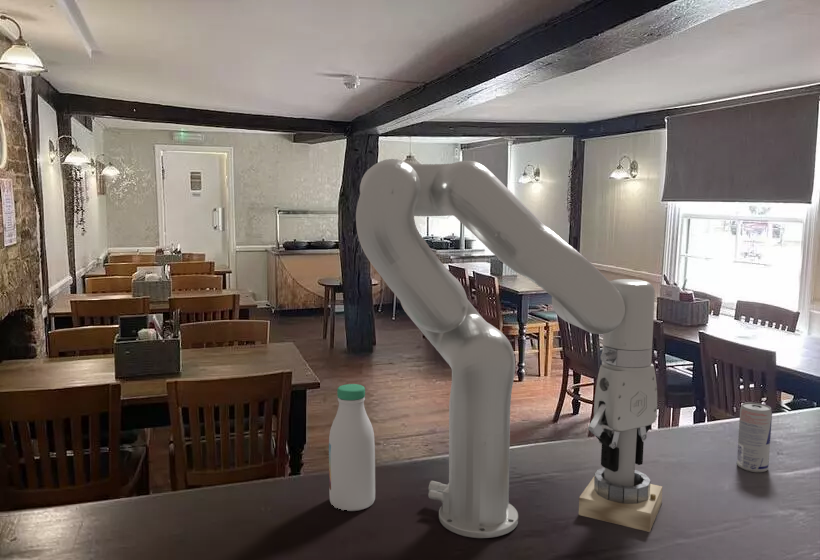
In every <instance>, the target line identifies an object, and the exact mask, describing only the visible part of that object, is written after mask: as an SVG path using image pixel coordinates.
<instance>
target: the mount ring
mask: <svg viewBox="0 0 820 560" xmlns="http://www.w3.org/2000/svg"><path fill="white" fill-rule="evenodd" d="M604 469H605V467H601V468H598V469H597V470H596V472H595V473H594V476H595V477H594V476H593V477H594V490H595V491H596V493H597V494H598V495H599V496H601V497H603V498H605V499H607V500H609V501H613V502H618V503H622V504H623V503H624V504H637V503H641V502H644V501H647V500H648V498H649V496H650V484H651V482H652V481H651V479H650V477H649V476H648V475H647V474H646V473H644V472H642V471H640V470H637V469H635V475H634V486H622V485H617V484H612V483H610V482H608V481H606V480H604Z"/></svg>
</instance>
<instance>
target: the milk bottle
mask: <svg viewBox="0 0 820 560" xmlns="http://www.w3.org/2000/svg"><path fill="white" fill-rule="evenodd" d="M336 391H337V392H336V393H337V395H336V396H337V401H338V408H337V411H336V415H335V417H334V418H333V420H332V424H331V427H330V431H329V434H328V435H329V437H328V478H329V480H328V483H329V484H328V485H329V490H328V491H329V493H328V494H329V502H330V504H331V506H332V505H333V506H334V507H333V506H332V507H333V508H335V509H337V508H338V509H337V510H339V509H341V510H340V511H344V510H347V511H346V512H356V511H362V510H364V509H368V508H369V507H371V506H372V505H373V504H374V502H375V500H376V448H375V447H376V446H375V433H374V427H373V425H372V422H371V420H370V418H369V416H368V414H367V411H366V409H365V400H366V398H365V397H366V388H365V386H363V385H362V384H356V383H348V384H343V385H342V384H341V385H339V386H338V387H337V389H336Z"/></svg>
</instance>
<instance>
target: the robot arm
mask: <svg viewBox="0 0 820 560" xmlns="http://www.w3.org/2000/svg"><path fill="white" fill-rule="evenodd" d="M357 200H358V201H357V204H356V210H355V211H356V212H355V224H356V233H357V238H358V241H359V244H360V246H361V248H362V249H361V250H363V253H364V254H365V256H366V258H367V259H368V262H370V264H371V265H372V267H373V268H374V269H375V271H376V272H377V274H378V275H379V276H380V277H381V279H382V280H383V281H384V282H385V284H386V285H387V287H388V288H389V289H390V290H391V292H393V294H394V295H395V296H396V298H397V299H398V301H400V305H401V307H402V309H403V310H404V312H405V314H406V315H407V316H408V317H409V319H410V320H411V321H412V322H413V323H414V325H415V326H416V327H417V328H418V330H419V331H420V332H421V333H422V334H423V336H425V338H426V339H427V340H428V341H429V342H430V344H431V345H432V346H433V347H434V348H435V350H436V351H437V352H438V353H439V354H440V356H441V357H442V358H443V360H444V361H445V362H446V363H447V364H448V365H449V367H450V368H451V386H450V392H449V393H450V394H449V403H448V405H449V407H448V408H449V409H448V429H449V430H448V483H447V484H445V483H442V482H440V481H435V480H430V481H429V485H428V498H429V499H430V500H435V501H436V500H437V501H440V502H441V503H442V505H441V506H440V507H439V510H438V519H439V522H440V524H441V525H442V526H443V527H444V528H445V529H447V530H448V531H450V532H452V533H454V534H457V535H459V536H463V537H468V538H474V539H491V538H498V537H502V536H504V535H506V534H509V533H511V532H512V531H514V529H515V528H517V526H518V524H519V512H518V510H517V509H516V508H515V506H513V505H512V504H511V503H510V502H509V501H510V500H509V498H510V496H509V495H510V492H509V491H510V453H511V452H510V450H511V449H510V448H511V447H510V444H511V442H510V441H511V435H510V434H511V405H512V404H511V403H512V400H511V399H512V392H513V385H514V379H515V373H516V356H515V351H514V348H513V346H512V344H511V342H510V340H509V338H508V337H507V336H506V335H505V334H504V333H503V332H502V331H501V330H500V329H498V328H496V326H494V325H492V324H491V323H489V322H487V321H486V320H485V318H483V316H482V315H481V314H480V313H479V311H478V310H477V309H476V308H475V307H474V305H473V304H472V303H471V302H470V300H469V299H468V295H467V293H466V291H465V288H464V287H463V285H462V283H461V282H460V281H459V280H458V279H457V278H456V276H454V275H453V274H452V273H451V272H450V271H449V269H448V268H447V267H446V266H445V264H443V262H442V261H441V260H440V259H439V257H438V256H437V255H436V254H435V253H434V251H433V250H432V249H431V247H430V246H429V244H428V243H427V242H426V240H425V238H423V236H422V235H421V234H420V231H419V230H418V228H417V225H416V223H415V222H416V221H415V217H446V216H447V217H448V216H449V217H450V216H451V217H453V216H454V217H455V218H456V220H457V221H459V222H460V223H461V224H462V225H463V226H464V227H465V228H466V229H467V230H469V231H470V232H471V233H472V235H474V236H475V238H477V240H479V241H480V243H482V244H483V245H484V246H485V247H486V248H487V249H488V250H489V251H490V252H491V253H493V255H494V256H495V257H497V259H498V260H499V261H500V262H502V263H503V264H504V265H505V266H507V267H508V268H509V269H510V270H512V271H514V272H515V273H517V274H519V275H521V276H522V277H523V278H527V280H529V281H531V282H532V283H534V284H535V285H536V286H538V287H539V288H541V289H542V291H543V290H544V292H546V293H547V294H548V295H549V296H551V304H552V309H553V310H554V312H555V314H556V315H557V316H558V317H559V318H560V319H561V320H563V321H565V322H567V323H569V324H571V325H572V326H575V327H578V328H580V329H581V330H583V331H586V332H588V333H589V334H590V333H591V334H595V335H602V351H601V353H600V356H599V358H600V360H601V364H600V367H599V370H598V374H597V378H596V379H597V380H596V384H595V385H596V387H595V394H594V405H593V406H594V407H593V408H594V409H593V418H592V420H591V422H590V423H589V425H588V427H587V428H588V429H587V430H588V431H589V432H590V433H592V434H593V435H594V436H595V437H596V439H597V440H598V442H599V443H600V445H601V453H600V456H601V457H600V465H601V467H602V468H607V469H609V470H611V471H613V472H617V471H618V467H619V448H618V447H616V446H617V442H618V437H619V433H620V432H623V431H628V430H632V429H636V428H637V439H636V457H635V465H637V466H641V465H643V464H644V463H643V462H644V445H645V444H644V442H645V441H646V440H647V437H648V436H647V434H648V432H649V430H650V429H651V426H652V425H653V424H654V423H655V422H656V421H657V417H658V385H657V376H656V370H655V365H654V364H653V363H652V360H653V359H652V357H653V355H652V354H653V338H654V337H653V335H654V321H655V320H654V315H655V296H656V294H655V287H654V285H653V284H652V283H651V282H649V281H646V280H641V279H633V278H631V279H629V278H623V279H621V278H620V279H613V280H609V279H608V278H607V277H606V276H605V275H604V274H603V273H602V272H601V271H600V270H599V269H598V268H597V267H596V266H595V265H594V264H593V263H592V262H591V261H590V260H588V259H587V258H586V257H585V256H583V254H581V253H580V252H579V251H578V250H577V249H576V248H574V247H573V246H572V245H570V244H568V243H567V241H566V240H564V239H563V238H561V236H559V235H558V234H557V233H556V232H555V231H554V230H553V229H551V228H550V227H548V226H547V225H545V224H544V223H543V222H542V221H541V220H540V219H539V218H538V217H537V216H536V215H535V214H534V213H533V212H532V211H531V210H530V209H529V208H528V207H527V206H525V204H524V203H523V202H522V201H521V200H520V199H519V198H517V196H516V195H515V194H514V193H513V192H511V190H509V188H508V187H507V186H506V185H505V184H504V183H503V182H502V181H501V179H499V178H498V177H497V176H496V175H494V173H493V172H492V171H490V169H489V168H488V167H486V166H485V165H483V164H481V163H480V162H478V161H474V160H460V161H456V162H453V163H439V164H437V163H435V164H431V163H430V164H428V163H425V164H423V163H422V164H421V163H408V162H406V161H404V160H401V159H398V158H396V159H395V158H388V159H383V160H380V161H379V162H377V163H375V164H374V165H372V166H371V167H370V168H368V169H367V170H366V171H365V173H364V174H363V175H362V177H361V182H360V184H359V197H358V199H357ZM609 430H610V431H612V434H611V437H610V436H609V435H608V431H609Z"/></svg>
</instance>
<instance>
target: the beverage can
mask: <svg viewBox="0 0 820 560" xmlns="http://www.w3.org/2000/svg"><path fill="white" fill-rule="evenodd" d="M611 434H612V431H610V430H609V431H608V435H609V436H610V437H611ZM636 439H637V428H636V429H632V430H628V431H623V432H620V433H619V437H618V442H617V446H616V447H618V448H619V467H618V471H617V472H613V471H611V470H609V469H607V468H605V467H604V468H605V469H604V480H606V481H608V482H610V483H612V484H617V485H622V486H634V475H635V470H636V464H635V457H636Z"/></svg>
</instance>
